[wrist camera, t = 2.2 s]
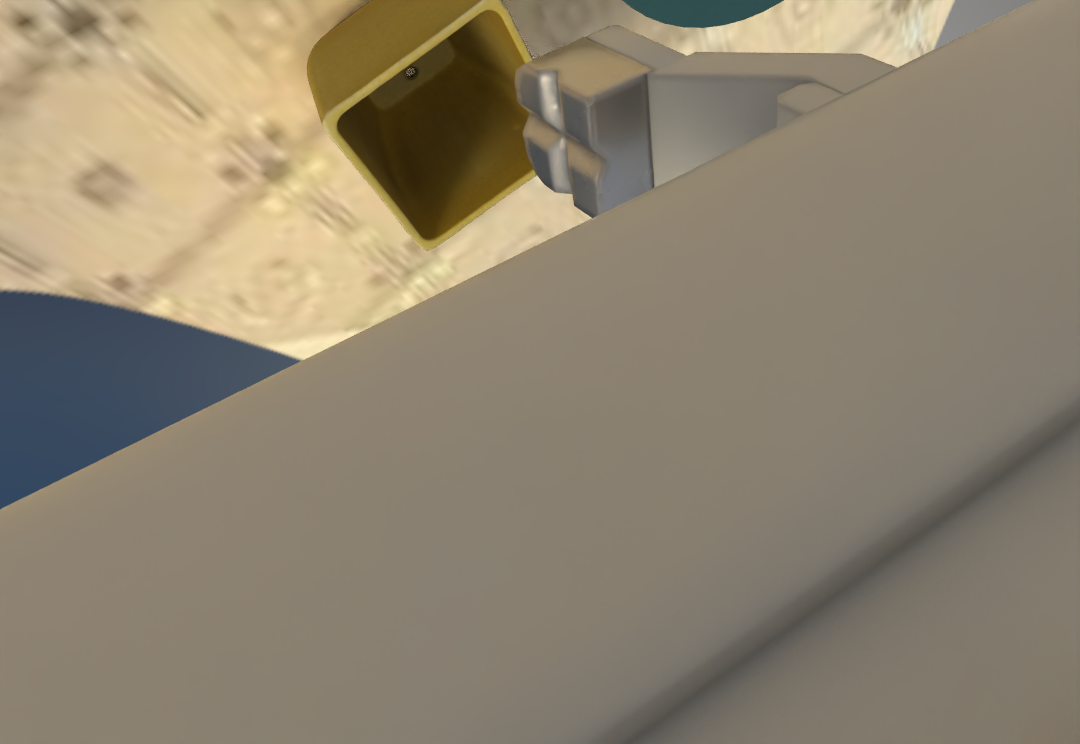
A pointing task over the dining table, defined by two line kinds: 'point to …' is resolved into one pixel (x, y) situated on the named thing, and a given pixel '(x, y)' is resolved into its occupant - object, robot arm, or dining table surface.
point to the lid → (700, 11)
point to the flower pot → (427, 107)
